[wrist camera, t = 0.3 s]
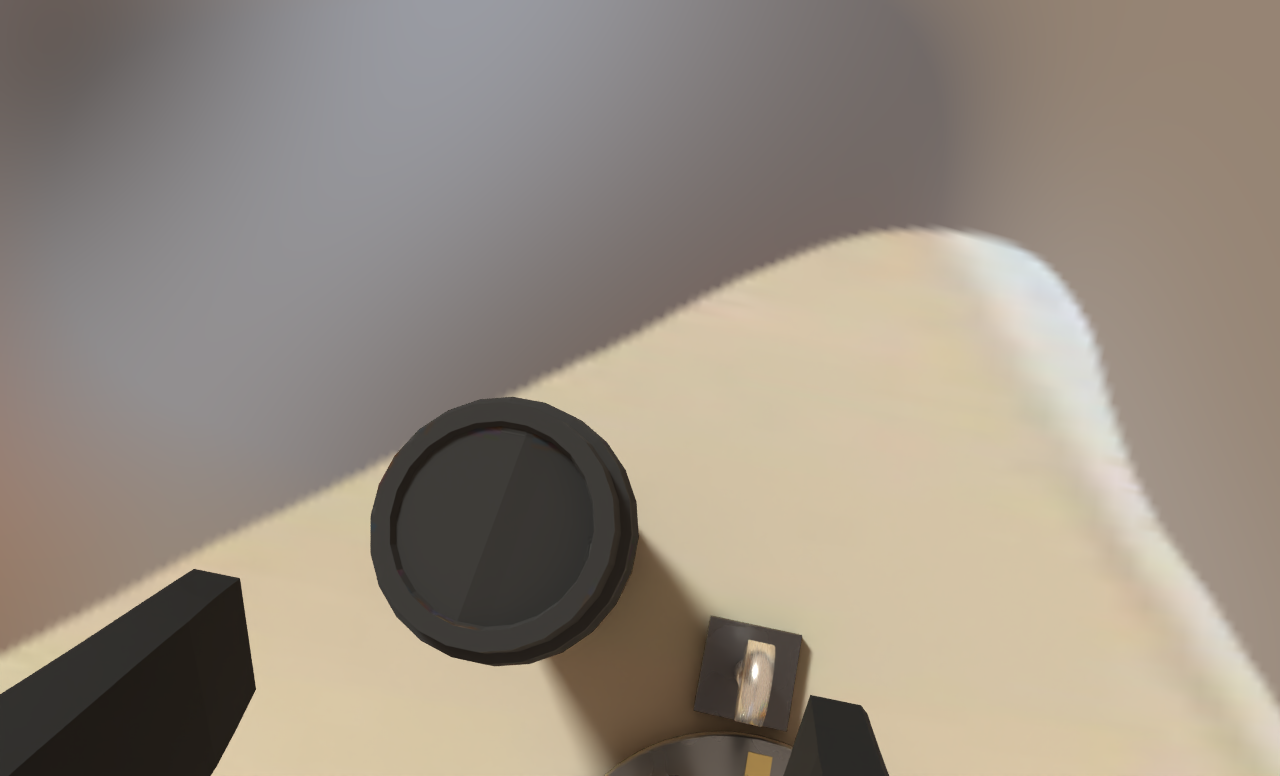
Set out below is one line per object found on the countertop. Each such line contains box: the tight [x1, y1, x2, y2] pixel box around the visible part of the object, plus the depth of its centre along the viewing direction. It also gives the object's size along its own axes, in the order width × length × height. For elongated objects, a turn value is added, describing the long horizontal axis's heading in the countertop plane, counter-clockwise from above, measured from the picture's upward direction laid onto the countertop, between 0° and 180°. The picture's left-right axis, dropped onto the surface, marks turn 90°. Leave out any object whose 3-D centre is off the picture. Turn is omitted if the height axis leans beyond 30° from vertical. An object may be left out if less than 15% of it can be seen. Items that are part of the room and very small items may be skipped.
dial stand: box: [694, 616, 802, 732], centre depth 35 cm, size 4×4×7 cm
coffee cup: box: [371, 397, 639, 666], centre depth 33 cm, size 8×8×15 cm
